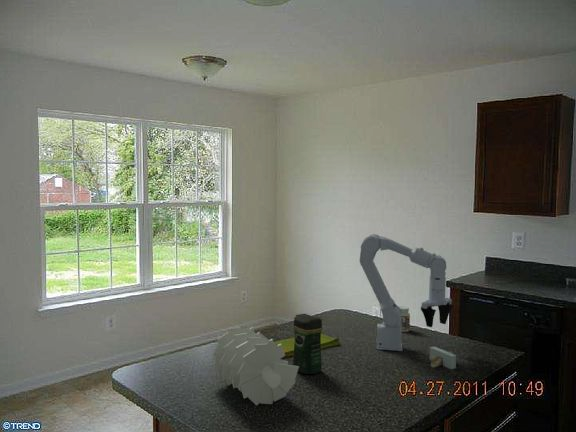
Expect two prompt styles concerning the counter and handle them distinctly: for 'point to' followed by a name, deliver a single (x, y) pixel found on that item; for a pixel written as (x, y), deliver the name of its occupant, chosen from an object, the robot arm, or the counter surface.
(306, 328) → the coffee jar
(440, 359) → the birch board
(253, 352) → the spiral staircase
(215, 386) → the counter surface
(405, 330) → the pill bottle
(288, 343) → the dish towel
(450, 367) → the notched plate
